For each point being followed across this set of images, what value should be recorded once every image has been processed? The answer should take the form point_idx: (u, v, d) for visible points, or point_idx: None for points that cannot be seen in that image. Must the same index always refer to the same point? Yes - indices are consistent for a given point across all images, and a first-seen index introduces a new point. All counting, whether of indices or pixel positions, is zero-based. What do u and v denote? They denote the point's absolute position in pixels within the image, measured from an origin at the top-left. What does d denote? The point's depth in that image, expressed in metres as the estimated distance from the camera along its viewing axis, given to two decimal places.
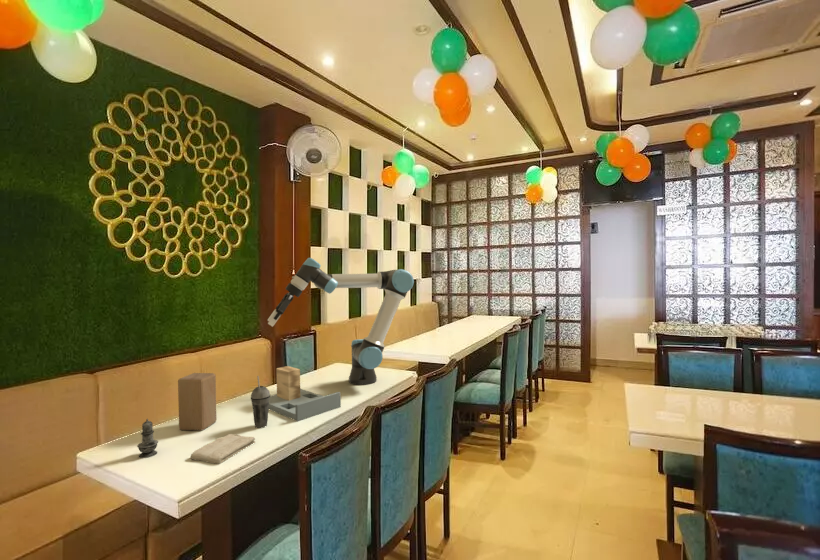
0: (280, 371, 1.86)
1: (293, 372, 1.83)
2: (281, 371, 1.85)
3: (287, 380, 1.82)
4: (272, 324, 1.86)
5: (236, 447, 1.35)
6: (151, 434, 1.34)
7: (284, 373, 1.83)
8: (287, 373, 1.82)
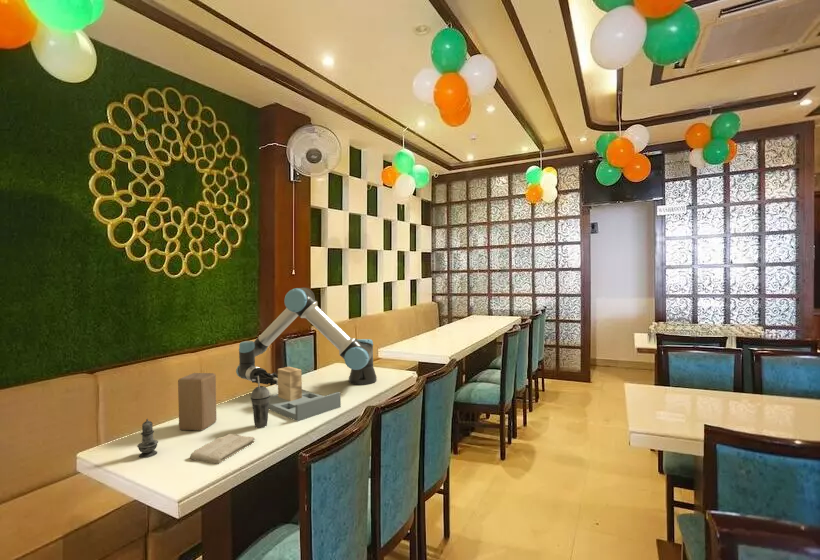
0: (281, 371, 1.85)
1: (295, 372, 1.83)
2: (282, 371, 1.84)
3: (289, 380, 1.81)
4: None
5: (235, 447, 1.35)
6: (151, 434, 1.34)
7: (285, 373, 1.83)
8: (289, 373, 1.81)
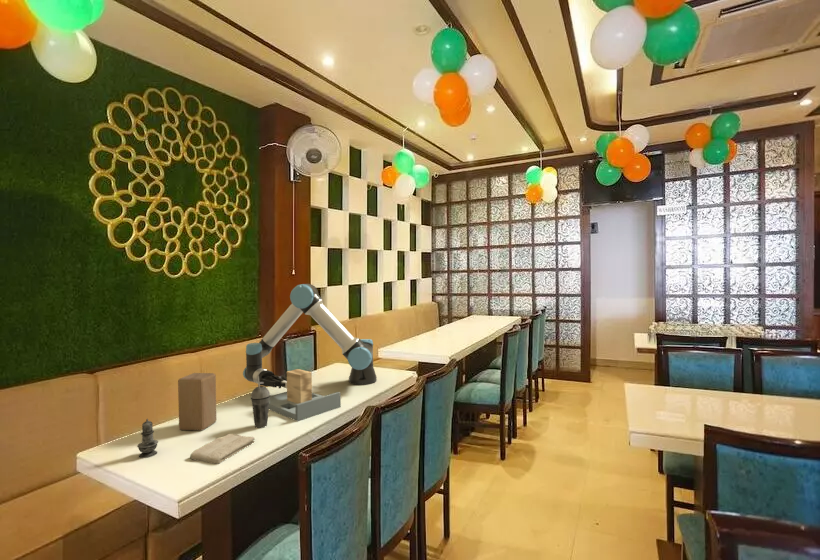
0: (291, 374, 1.80)
1: (305, 375, 1.78)
2: (292, 374, 1.79)
3: (299, 383, 1.76)
4: None
5: (235, 447, 1.35)
6: (151, 434, 1.34)
7: (295, 376, 1.78)
8: (299, 376, 1.76)
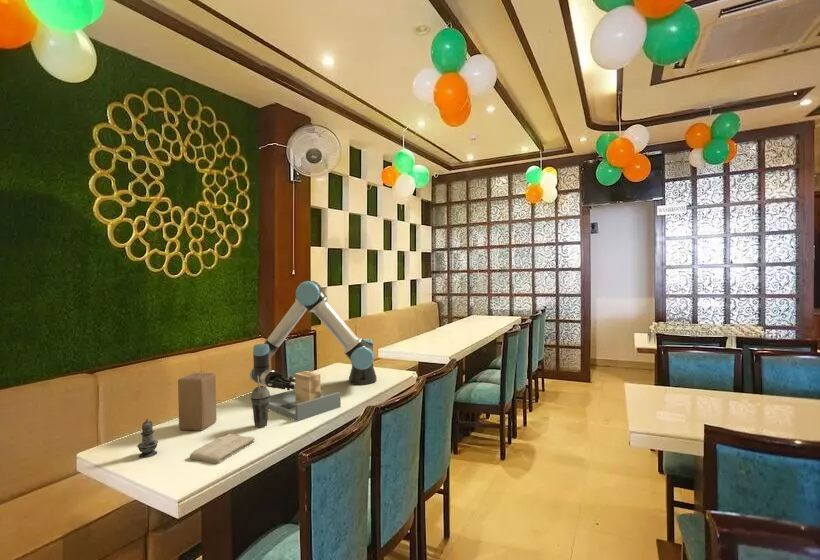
0: (299, 376, 1.76)
1: (313, 377, 1.74)
2: (300, 376, 1.76)
3: (307, 386, 1.73)
4: None
5: (235, 447, 1.35)
6: (151, 434, 1.34)
7: (304, 378, 1.74)
8: (307, 378, 1.73)
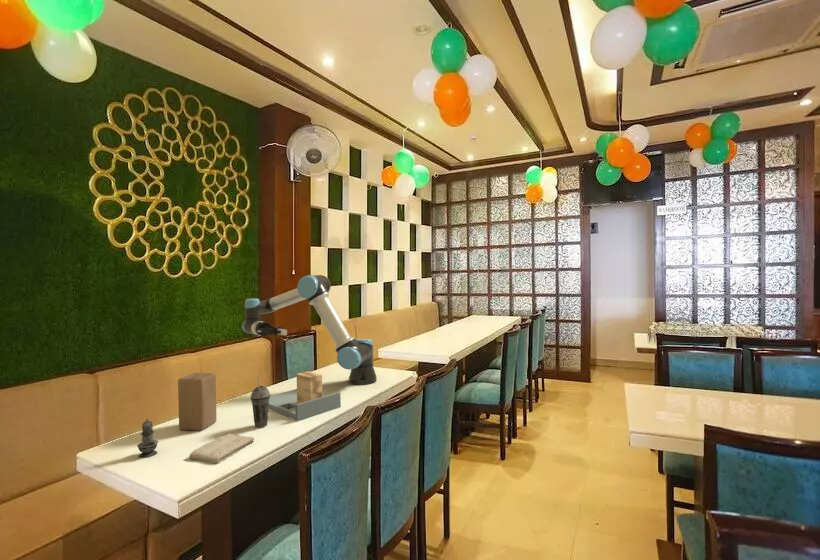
0: (301, 377, 1.75)
1: (315, 378, 1.73)
2: (302, 377, 1.75)
3: (309, 386, 1.72)
4: (283, 331, 2.02)
5: (235, 447, 1.35)
6: (151, 434, 1.34)
7: (305, 379, 1.73)
8: (309, 379, 1.72)
